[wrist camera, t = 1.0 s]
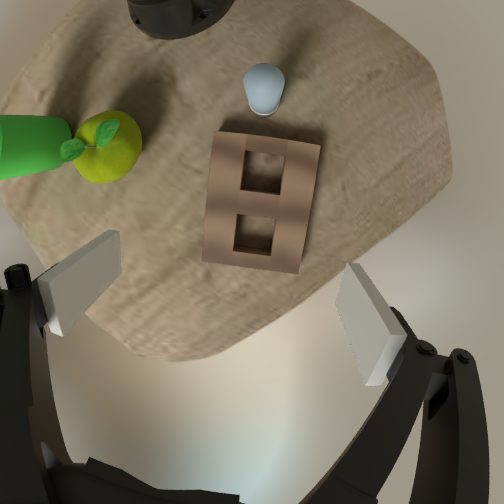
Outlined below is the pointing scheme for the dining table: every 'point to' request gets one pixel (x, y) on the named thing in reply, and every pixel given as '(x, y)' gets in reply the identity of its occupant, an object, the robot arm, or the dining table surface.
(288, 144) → the board
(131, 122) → the fruit
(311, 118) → the dining table surface
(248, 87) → the peg
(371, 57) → the dining table surface
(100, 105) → the dining table surface
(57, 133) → the bottle
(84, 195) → the dining table surface
